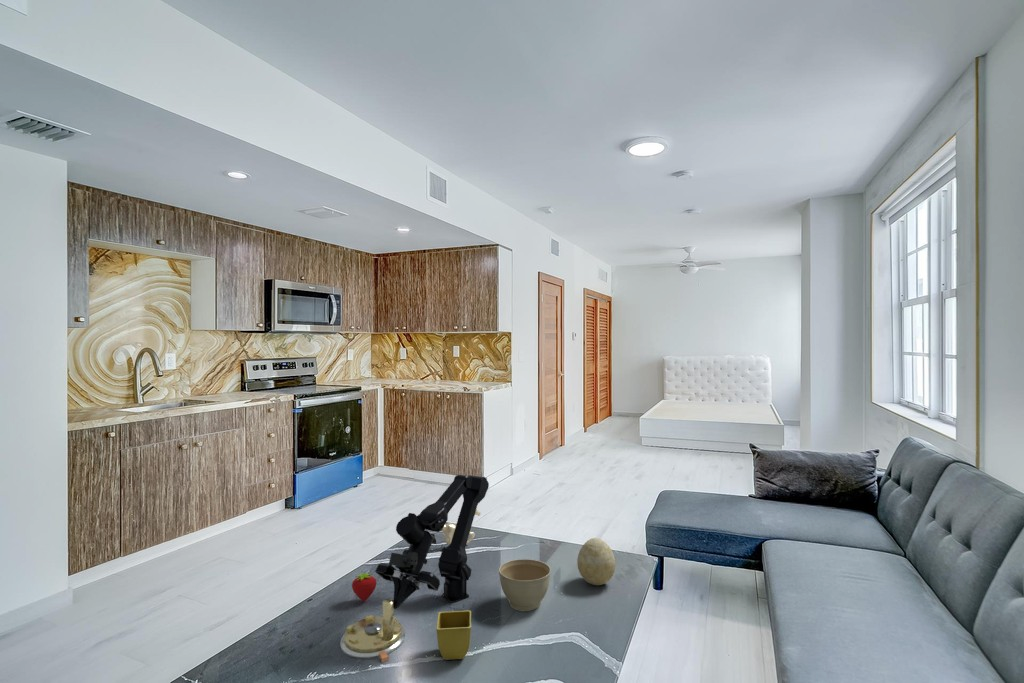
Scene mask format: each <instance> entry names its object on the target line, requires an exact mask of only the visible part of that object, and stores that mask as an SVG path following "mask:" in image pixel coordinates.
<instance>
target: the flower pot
mask: <svg viewBox="0 0 1024 683" xmlns="http://www.w3.org/2000/svg"><path fill="white" fill-rule="evenodd" d="M471 631H472V610H454V611H453V610H452V611H451V610H450V611H439V612H438V613H437V622H436V638H437V646H438V647H437V648H438V651H439V653H440V654H441V656H442V659H444V660H445V661H446V660H464V659H465V657H466V656H467V655H468V653H469V649H470V643H471V635H472V634H471V633H472V632H471Z"/></svg>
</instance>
